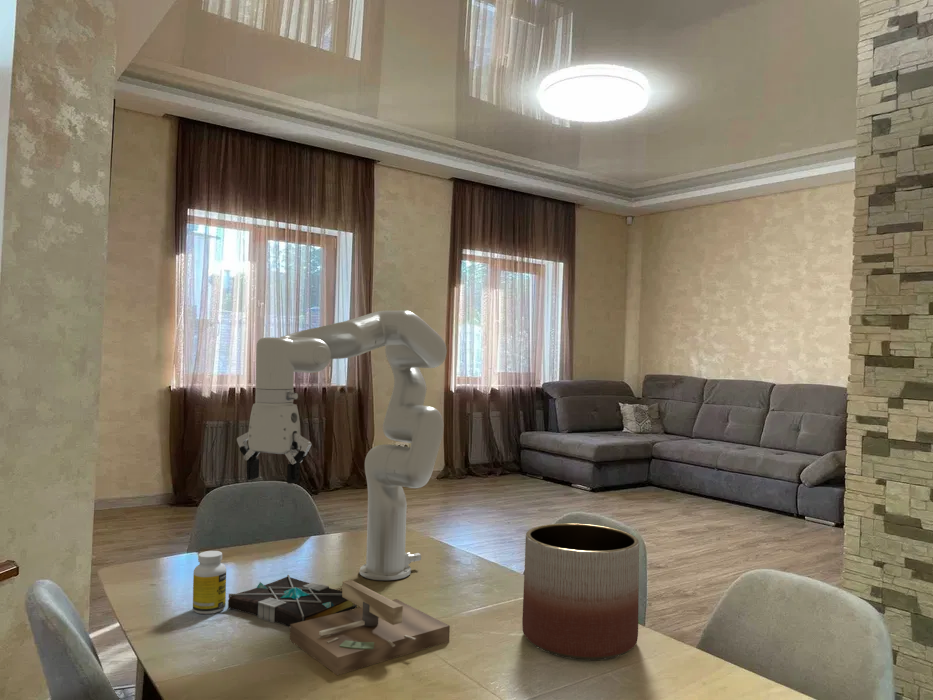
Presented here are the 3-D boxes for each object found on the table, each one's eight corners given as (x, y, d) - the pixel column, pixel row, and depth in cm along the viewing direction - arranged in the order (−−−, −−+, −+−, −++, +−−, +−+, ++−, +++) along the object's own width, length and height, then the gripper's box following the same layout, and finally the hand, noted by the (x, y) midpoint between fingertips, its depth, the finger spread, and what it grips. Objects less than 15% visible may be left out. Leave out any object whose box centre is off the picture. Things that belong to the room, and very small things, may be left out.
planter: (568, 610, 153) (570, 517, 154) (659, 642, 138) (662, 538, 138) (498, 637, 138) (501, 533, 138) (592, 676, 122) (595, 559, 122)
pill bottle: (214, 616, 145) (216, 559, 144) (186, 613, 146) (187, 557, 146) (231, 605, 151) (232, 550, 151) (203, 602, 152) (204, 548, 152)
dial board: (396, 613, 149) (396, 598, 149) (455, 644, 134) (455, 627, 134) (289, 640, 134) (290, 623, 134) (342, 679, 119) (343, 659, 119)
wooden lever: (352, 607, 142) (353, 579, 142) (404, 636, 129) (404, 605, 129) (297, 620, 135) (298, 590, 135) (345, 653, 121) (346, 619, 121)
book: (226, 611, 149) (227, 587, 149) (286, 589, 163) (287, 567, 163) (302, 635, 138) (302, 609, 138) (359, 610, 152) (360, 586, 152)
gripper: (320, 398, 147) (319, 481, 147) (250, 394, 153) (248, 474, 153) (300, 400, 140) (298, 487, 140) (227, 396, 146) (225, 480, 146)
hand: (272, 480), depth 146 cm, fingers open, 9 cm apart
